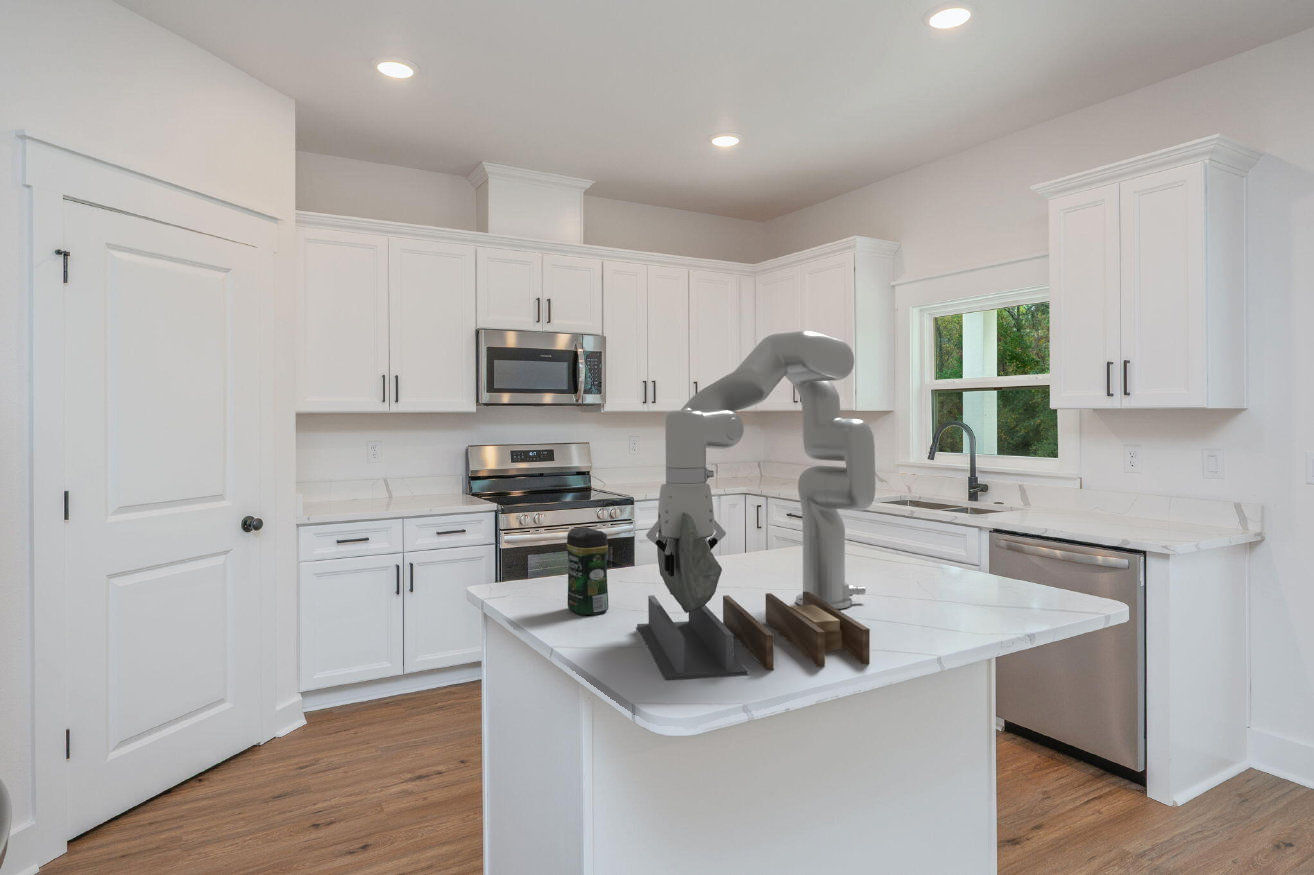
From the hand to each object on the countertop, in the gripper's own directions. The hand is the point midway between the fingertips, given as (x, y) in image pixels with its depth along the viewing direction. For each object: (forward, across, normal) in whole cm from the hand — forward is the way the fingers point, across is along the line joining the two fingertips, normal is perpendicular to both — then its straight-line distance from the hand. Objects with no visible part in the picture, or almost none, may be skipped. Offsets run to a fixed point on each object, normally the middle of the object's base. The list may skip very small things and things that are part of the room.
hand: (686, 573), depth 140 cm
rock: (+8, 0, 0) cm, 8 cm away
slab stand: (+14, 0, 0) cm, 14 cm away
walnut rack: (+14, -20, 0) cm, 25 cm away
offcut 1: (+11, -25, 0) cm, 27 cm away
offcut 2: (+13, -25, 0) cm, 28 cm away
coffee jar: (+14, +16, -31) cm, 38 cm away
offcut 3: (+15, -25, 0) cm, 29 cm away
